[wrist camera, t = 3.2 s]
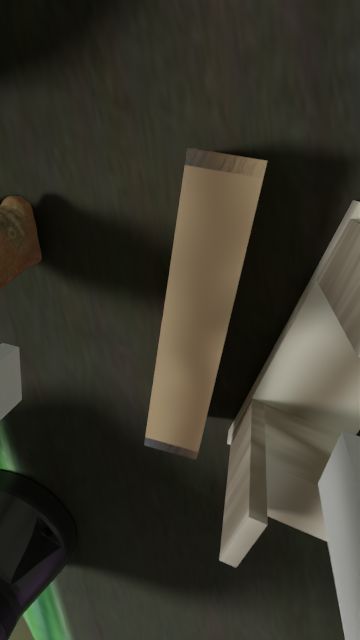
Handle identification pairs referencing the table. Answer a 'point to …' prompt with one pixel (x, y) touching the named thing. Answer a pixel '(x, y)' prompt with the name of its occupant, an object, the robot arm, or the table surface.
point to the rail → (200, 293)
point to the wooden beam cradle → (298, 405)
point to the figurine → (17, 238)
